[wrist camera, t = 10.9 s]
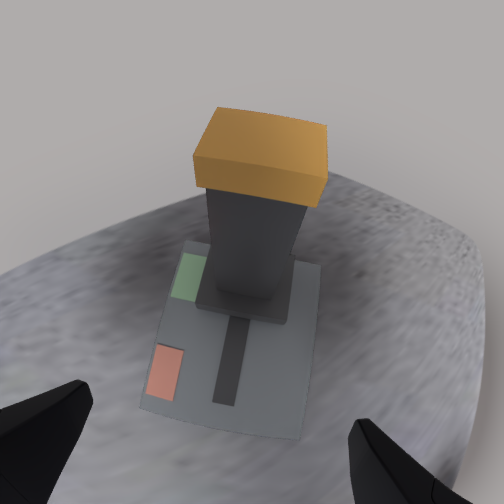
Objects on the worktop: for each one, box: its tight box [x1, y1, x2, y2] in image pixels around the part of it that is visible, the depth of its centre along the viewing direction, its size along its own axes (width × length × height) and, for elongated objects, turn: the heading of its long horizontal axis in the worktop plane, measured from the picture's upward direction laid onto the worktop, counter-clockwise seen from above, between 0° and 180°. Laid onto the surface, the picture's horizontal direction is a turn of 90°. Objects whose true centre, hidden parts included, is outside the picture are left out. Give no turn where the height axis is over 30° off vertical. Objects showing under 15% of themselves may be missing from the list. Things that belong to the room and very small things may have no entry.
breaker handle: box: [193, 107, 328, 325], centre depth 12 cm, size 4×5×11 cm
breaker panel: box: [139, 240, 321, 440], centre depth 16 cm, size 11×9×2 cm
